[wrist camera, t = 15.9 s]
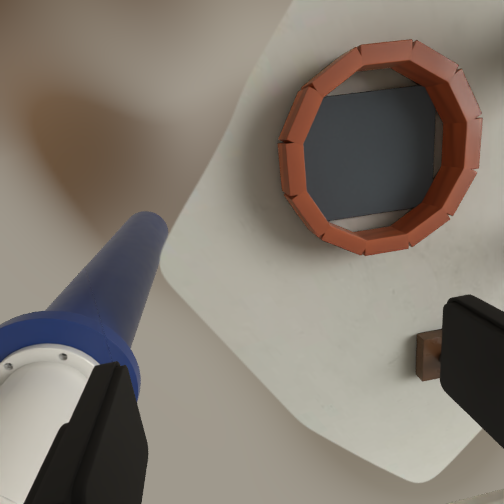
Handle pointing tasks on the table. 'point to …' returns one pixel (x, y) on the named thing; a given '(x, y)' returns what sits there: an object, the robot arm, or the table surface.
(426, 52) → the hoop
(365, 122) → the mat
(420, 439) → the table surface
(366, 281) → the table surface
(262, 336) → the table surface
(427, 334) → the post
